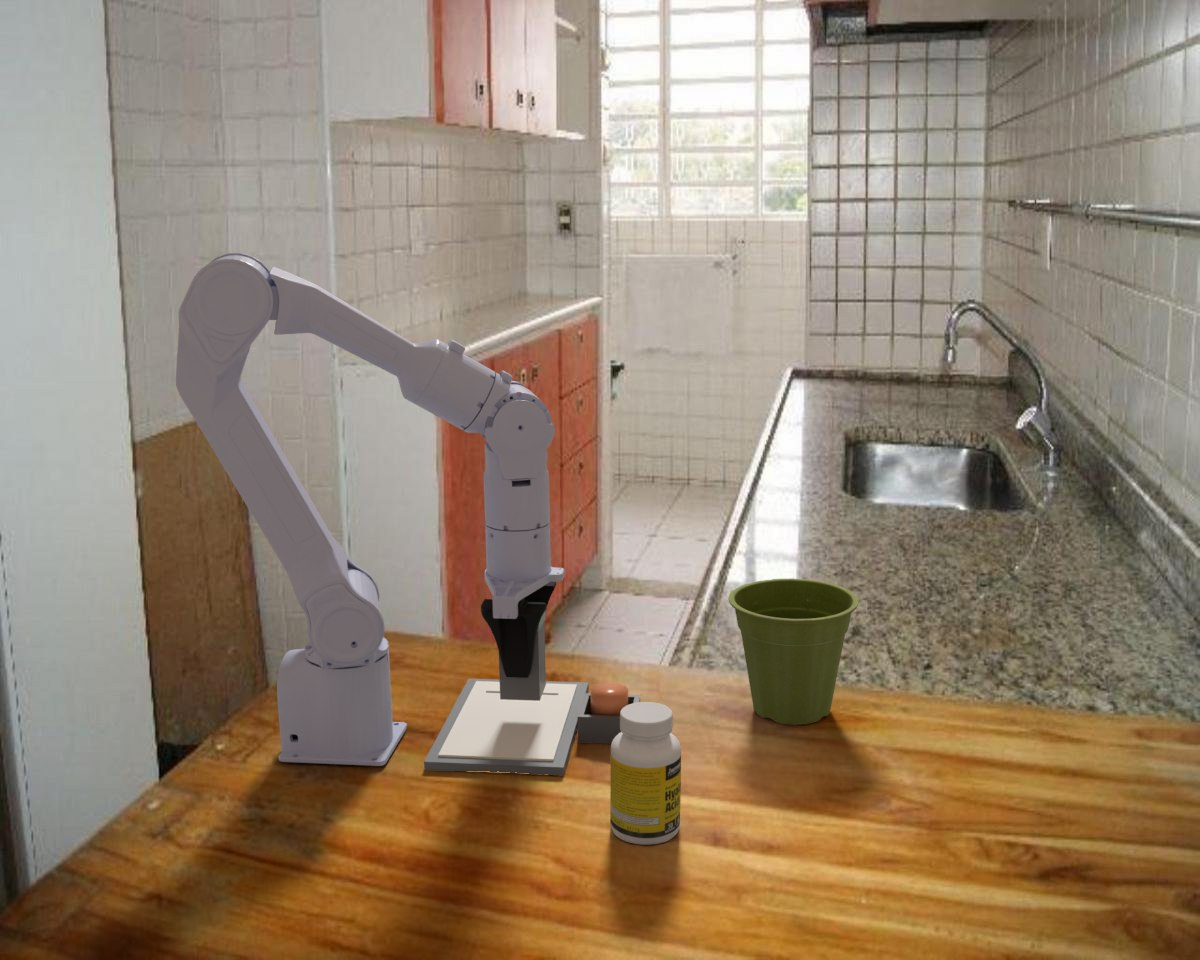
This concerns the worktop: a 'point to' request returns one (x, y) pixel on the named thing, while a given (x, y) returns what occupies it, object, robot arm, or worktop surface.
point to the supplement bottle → (645, 775)
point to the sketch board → (508, 730)
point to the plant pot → (792, 644)
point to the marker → (537, 678)
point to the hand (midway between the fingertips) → (521, 666)
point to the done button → (608, 699)
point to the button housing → (598, 723)
